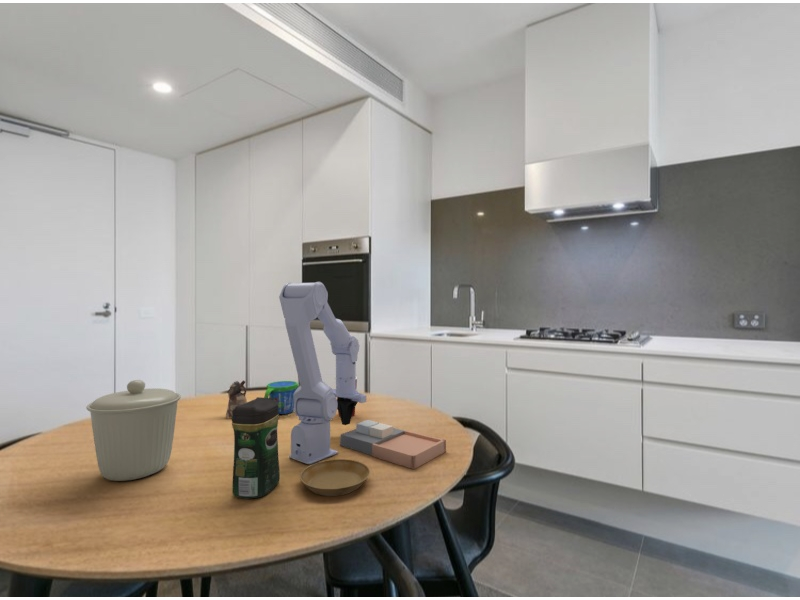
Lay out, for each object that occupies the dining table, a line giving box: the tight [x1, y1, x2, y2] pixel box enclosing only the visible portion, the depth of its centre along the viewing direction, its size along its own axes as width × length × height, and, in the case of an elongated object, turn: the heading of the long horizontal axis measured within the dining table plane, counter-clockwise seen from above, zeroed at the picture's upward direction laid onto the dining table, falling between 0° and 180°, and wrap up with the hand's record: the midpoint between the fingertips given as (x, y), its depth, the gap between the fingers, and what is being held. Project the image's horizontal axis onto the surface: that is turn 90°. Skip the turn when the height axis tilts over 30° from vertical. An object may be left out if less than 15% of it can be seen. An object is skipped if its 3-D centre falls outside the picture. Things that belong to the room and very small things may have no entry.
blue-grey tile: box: [355, 419, 380, 435], centre depth 111 cm, size 4×4×2 cm
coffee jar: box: [231, 396, 281, 500], centre depth 83 cm, size 10×8×19 cm
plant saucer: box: [299, 458, 371, 497], centre depth 86 cm, size 15×15×3 cm
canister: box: [85, 379, 182, 482], centre depth 92 cm, size 18×18×21 cm
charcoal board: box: [340, 427, 405, 456], centre depth 110 cm, size 13×12×3 cm
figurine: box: [225, 380, 248, 419], centre depth 138 cm, size 7×7×12 cm
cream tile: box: [370, 422, 394, 439], centre depth 108 cm, size 4×4×2 cm
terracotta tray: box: [371, 429, 447, 470], centre depth 102 cm, size 14×13×3 cm
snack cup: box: [263, 380, 300, 415], centre depth 142 cm, size 16×10×10 cm
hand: (346, 424), depth 116 cm, fingers closed
